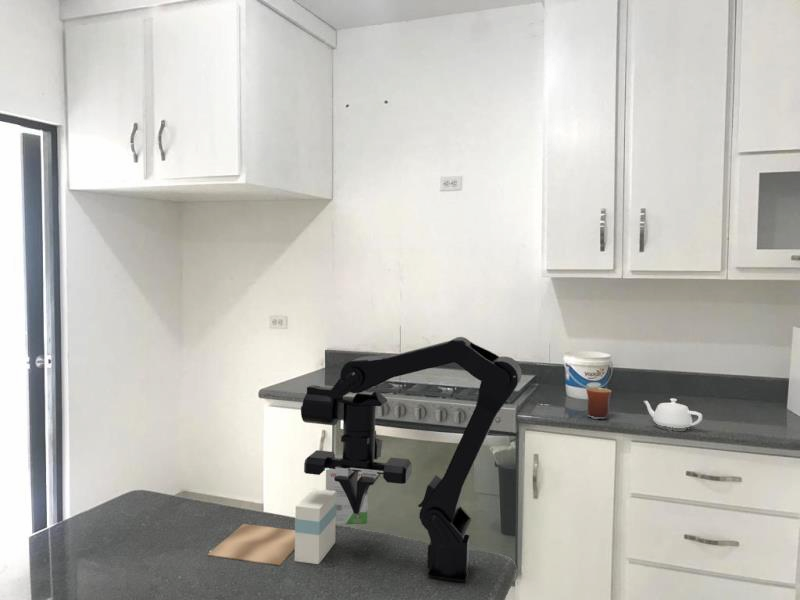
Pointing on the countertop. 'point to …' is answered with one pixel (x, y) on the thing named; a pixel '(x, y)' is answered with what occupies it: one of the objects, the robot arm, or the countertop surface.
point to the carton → (315, 526)
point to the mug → (598, 402)
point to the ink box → (345, 502)
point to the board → (257, 545)
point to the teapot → (673, 414)
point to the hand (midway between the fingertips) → (356, 513)
